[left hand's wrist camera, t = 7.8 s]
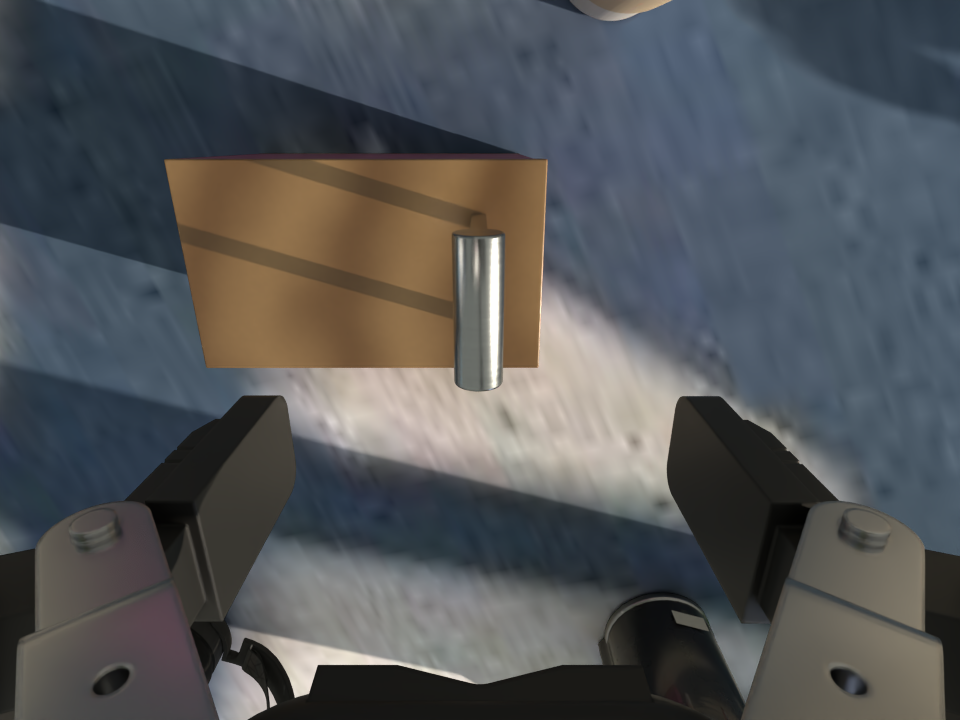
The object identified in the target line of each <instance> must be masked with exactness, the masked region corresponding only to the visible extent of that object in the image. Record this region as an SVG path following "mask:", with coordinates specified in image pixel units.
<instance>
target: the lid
mask: <svg viewBox="0 0 960 720" xmlns="http://www.w3.org/2000/svg"><path fill="white" fill-rule="evenodd" d="M164 162H165V167H166V172H167V177H168V182H169V187H170V192H171V197H172V201H173V206H174V211H175V216H176V221H177V226H178V231H179V236H180V241H181V246H182V251H183V255H184V260H185V265H186V270H187V275H188V280H189V285H190V290H191V295H192V300H193V305H194V310H195V314H196V319H197V324H198V329H199V334H200V339H201V344H202V349H203V354H204V359H205V364H206V367H207V368H454V382H455V384H456V385H457V386H458V387H460V388H462V389H465V390H469V391H488V390H492V389H495V388H497V387H499V386H500V385H501V384H502V382H503V368H538V366H539V344H540V321H541V298H542V275H543V252H544V229H545V206H546V183H547V159H165V160H164Z"/></svg>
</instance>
